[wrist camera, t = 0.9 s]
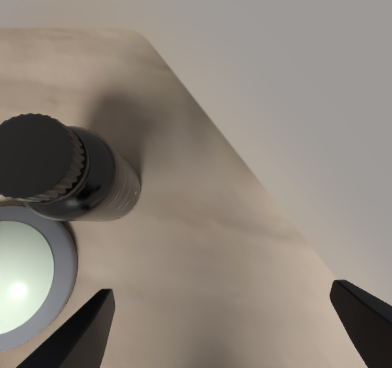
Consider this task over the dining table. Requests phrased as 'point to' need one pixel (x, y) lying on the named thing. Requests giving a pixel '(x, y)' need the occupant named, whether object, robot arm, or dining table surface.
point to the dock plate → (32, 273)
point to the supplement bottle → (64, 171)
